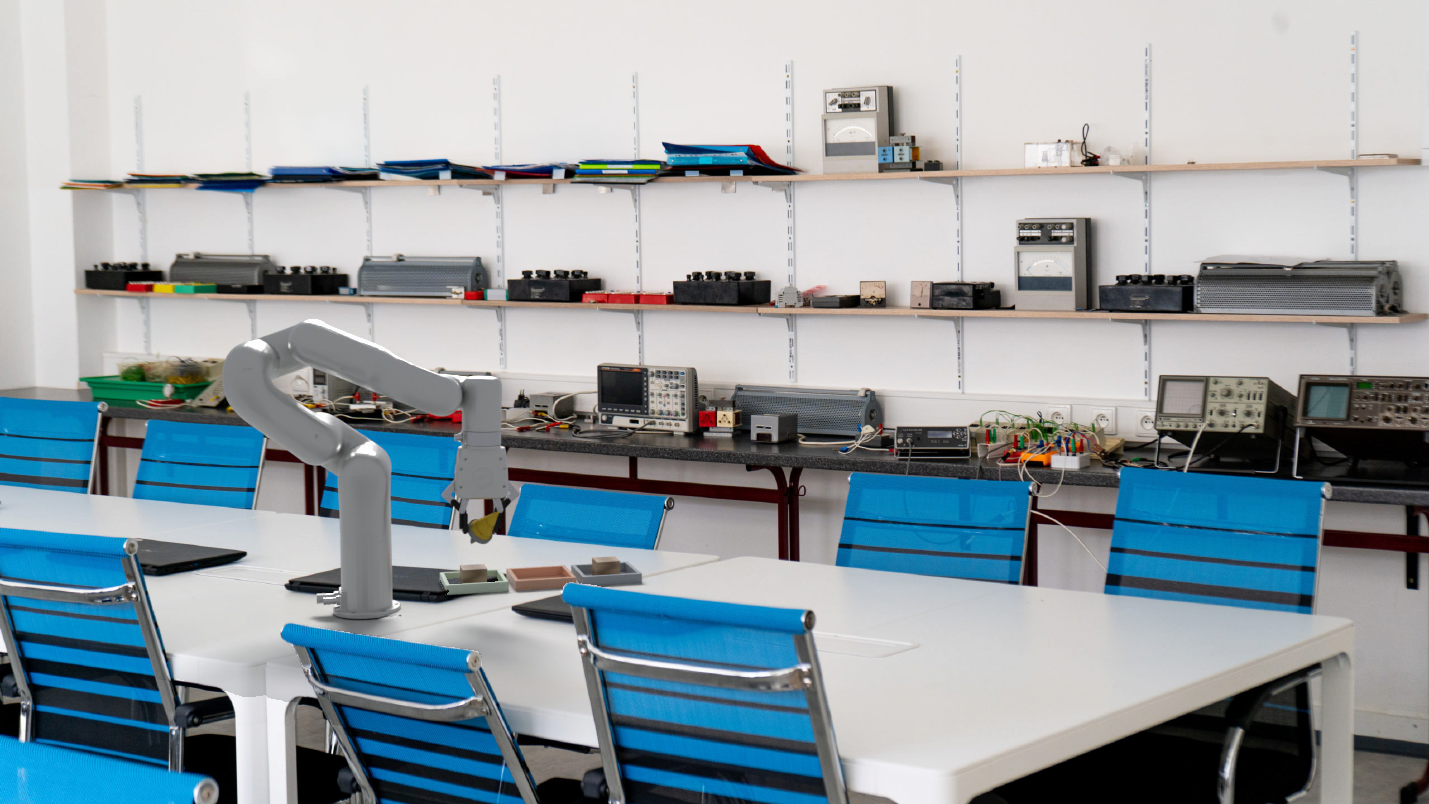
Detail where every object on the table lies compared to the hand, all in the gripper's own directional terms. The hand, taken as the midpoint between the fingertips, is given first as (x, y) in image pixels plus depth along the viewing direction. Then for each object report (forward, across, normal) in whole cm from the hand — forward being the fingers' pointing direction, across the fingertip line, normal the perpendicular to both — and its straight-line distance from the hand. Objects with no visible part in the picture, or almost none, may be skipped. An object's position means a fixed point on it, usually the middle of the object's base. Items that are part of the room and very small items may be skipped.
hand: (480, 531), depth 257 cm
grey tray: (+14, +29, +16) cm, 36 cm away
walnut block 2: (+14, +29, +16) cm, 36 cm away
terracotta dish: (+15, +15, +16) cm, 26 cm away
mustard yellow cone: (+3, +1, 0) cm, 3 cm away
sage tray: (+15, +1, +16) cm, 22 cm away
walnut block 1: (+14, +1, +16) cm, 21 cm away
